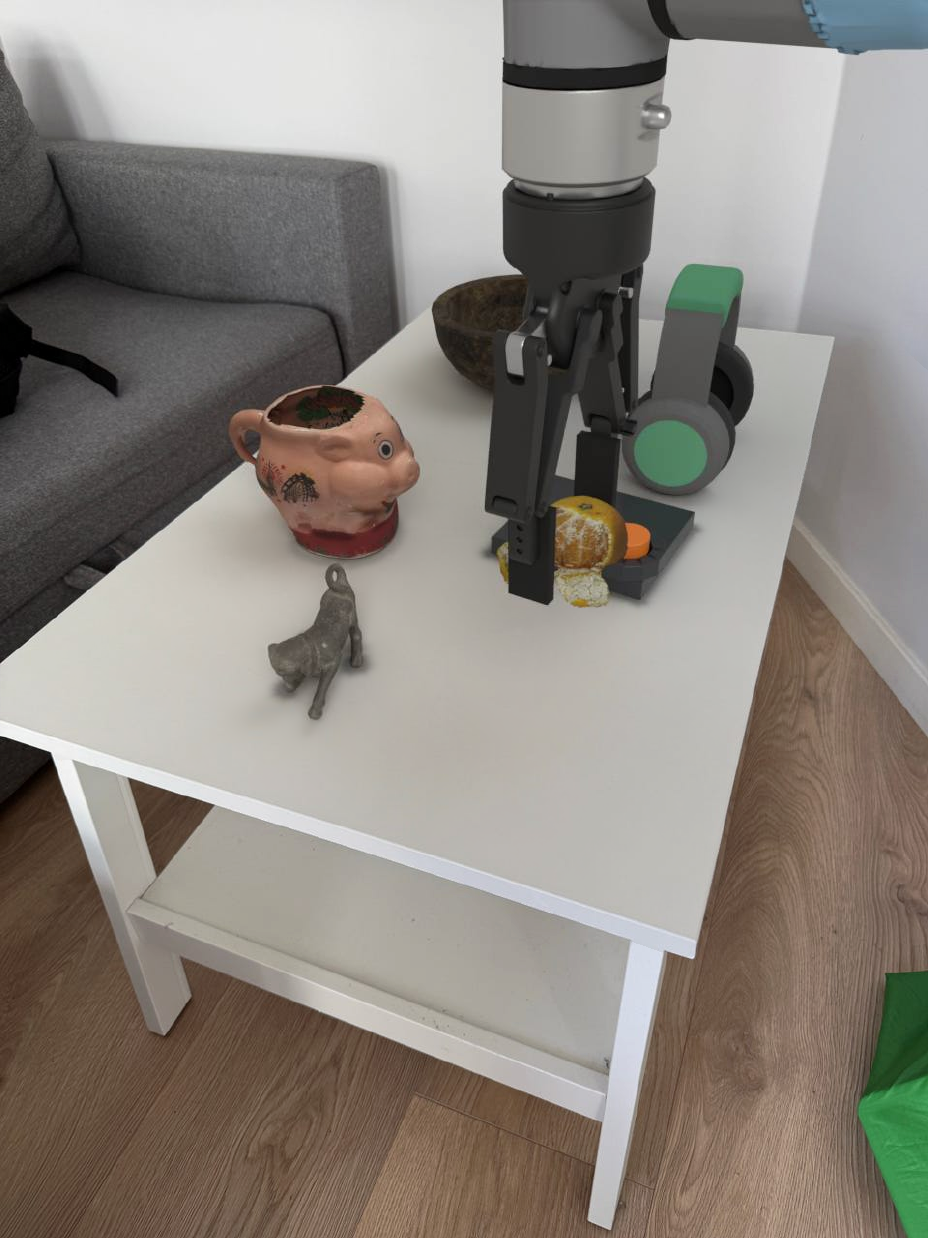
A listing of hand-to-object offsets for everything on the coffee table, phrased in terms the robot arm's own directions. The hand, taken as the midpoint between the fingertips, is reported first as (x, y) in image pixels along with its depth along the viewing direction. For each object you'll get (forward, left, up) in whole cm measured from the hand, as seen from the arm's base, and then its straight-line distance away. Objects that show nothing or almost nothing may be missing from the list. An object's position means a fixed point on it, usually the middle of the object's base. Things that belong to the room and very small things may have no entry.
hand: (563, 557), depth 59 cm
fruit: (0, +1, 0) cm, 1 cm away
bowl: (+31, -52, -15) cm, 62 cm away
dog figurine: (+19, +4, -15) cm, 25 cm away
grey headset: (+6, -43, -15) cm, 46 cm away
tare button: (+3, -20, -12) cm, 23 cm away
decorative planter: (+31, -13, -15) cm, 37 cm away
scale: (+8, -24, -15) cm, 29 cm away
